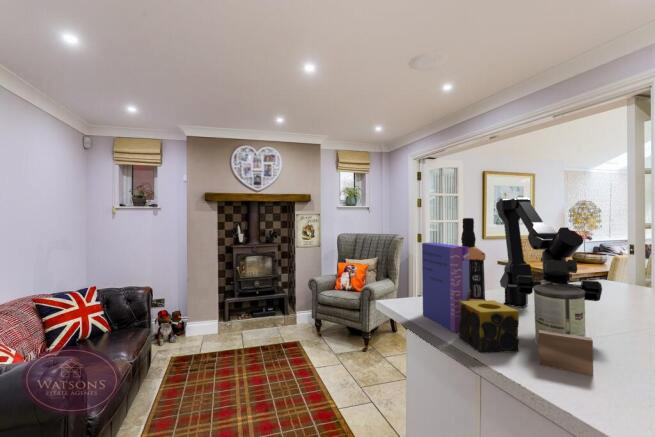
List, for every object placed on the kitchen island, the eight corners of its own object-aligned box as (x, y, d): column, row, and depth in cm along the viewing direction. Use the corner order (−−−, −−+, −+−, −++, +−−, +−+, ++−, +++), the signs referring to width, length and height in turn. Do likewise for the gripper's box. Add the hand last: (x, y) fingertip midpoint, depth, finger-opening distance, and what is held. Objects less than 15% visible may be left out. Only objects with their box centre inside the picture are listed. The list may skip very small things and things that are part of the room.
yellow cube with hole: (458, 338, 85) (457, 300, 85) (494, 336, 86) (493, 299, 86) (479, 354, 75) (479, 311, 75) (520, 352, 75) (519, 310, 76)
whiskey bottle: (487, 312, 107) (486, 217, 107) (456, 310, 110) (455, 218, 110) (481, 304, 117) (480, 217, 117) (452, 303, 120) (451, 218, 120)
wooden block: (538, 351, 75) (538, 322, 75) (587, 360, 70) (586, 329, 71) (539, 365, 69) (538, 332, 69) (593, 375, 64) (592, 340, 64)
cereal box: (469, 331, 89) (468, 246, 89) (454, 333, 88) (453, 246, 88) (435, 314, 106) (435, 242, 106) (422, 315, 105) (422, 242, 105)
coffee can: (541, 333, 86) (540, 281, 85) (590, 344, 78) (589, 287, 78) (528, 345, 79) (527, 289, 78) (581, 359, 71) (580, 297, 71)
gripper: (516, 247, 92) (515, 293, 83) (600, 250, 82) (610, 302, 73) (517, 270, 99) (516, 315, 89) (595, 275, 89) (603, 327, 79)
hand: (558, 314), depth 82 cm, fingers closed, pressing on coffee can
